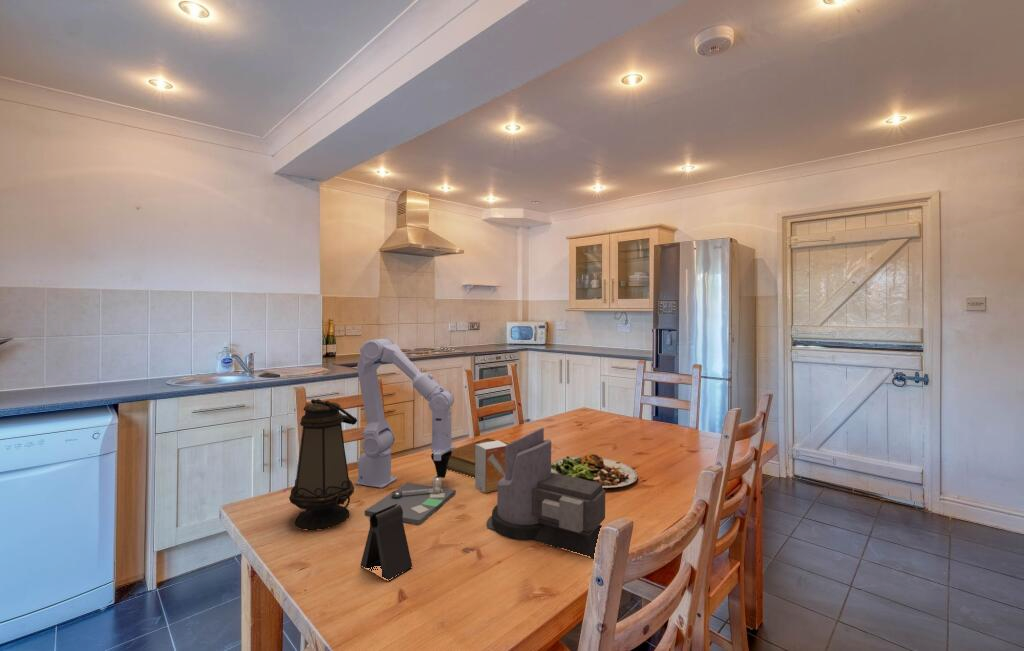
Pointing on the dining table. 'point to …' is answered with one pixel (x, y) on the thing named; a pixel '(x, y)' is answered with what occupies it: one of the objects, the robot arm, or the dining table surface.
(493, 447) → the small box
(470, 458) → the diary
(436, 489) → the metal crank handle
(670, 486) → the dining table surface
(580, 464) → the plate of food
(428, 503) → the dial board
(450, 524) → the dining table surface
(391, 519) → the black tent sign
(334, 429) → the lantern
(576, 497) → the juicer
